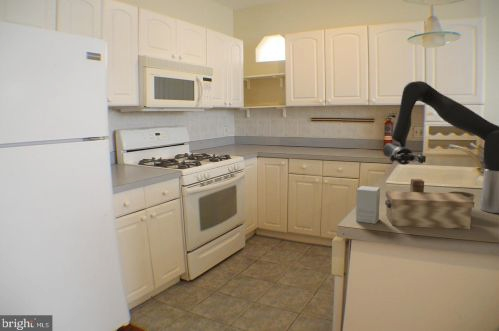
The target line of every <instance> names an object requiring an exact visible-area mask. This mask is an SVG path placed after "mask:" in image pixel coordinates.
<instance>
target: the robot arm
mask: <svg viewBox="0 0 499 331" xmlns="http://www.w3.org/2000/svg"><path fill="white" fill-rule="evenodd" d="M400 99H401V100H400V106H399V111H398V116H397V120H396V122H395V126H394V127H393V128H394V129H393V131H392V134H391V138H392V140H393V141H395V142H398V143H399V144H396V143H392V142H388V143H386V144H385V145H384V146H383V148H382V152H383V155H384V156H386V157H388V158H389V159H388V160H389V161H390V162H396V163H398V164H400V165H408V164H411V163H414V164H415V163H419V164H423V163H427V162H426V158H427V157H426V156H425V155H423V154H414V153H413V151H411V149H409V148H407V147H406V145H407V139H408V135H409V134H410V131H411V127H412V112H413V109H414V107H415V105H416V103H417V102H421V103H424V104H426V105H428V106H429V107H431V108H432V109H433V110H434V111H435V112H436V113H437V115H438V116H439V117H440V118H441V119H442V120H443V121H445V122H446V123H448V124H449V125H451V126H453V127H455V128H456V129H458V130H461V131H464V132H466V133H468V134H469V133H470V134H472V135H475V136H477V137H478V138H480V139H481V140H483V141H484V143H483V144H484V145H483V156H482V157H483V158H482V159H483V164H484V167H483V178H482V179H483V180H482V188H481V197H480V198H481V200H480V211H484V212H487V213H492V214H499V126H498V125H496V124H494V123H492V122H490V121H488V120H487V119H486V118H484V117H482V116H481V115H480V114H478V113H476V112H475V111H473V110H472V109H470V108H468V107H467V106H465V105H463V104H462V103H459V102H457V101H456V100H454V99H452V98H450V97H448V96H446V95H444V94H443V93H441V92H440V91H437V90H436V89H435V88H434V87H432V86H431V85H430V84H428V83H427V82H425V81H422V80H418V81H410V82H408V83H407V84H405V86H404V87H403V90H402V94H401V98H400Z"/></svg>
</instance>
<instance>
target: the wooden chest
mask: <svg viewBox="0 0 499 331" xmlns="http://www.w3.org/2000/svg"><path fill="white" fill-rule="evenodd" d="M385 198H386V199H385V203H384V205H385V207H386V212H385V216H387V217H386V218H387V219H388V222H389V224H390V225H391V224H392V225H391V226H393V225H396V226H397V227H413V228H414V227H417V228H418V227H419V228H433V229H434V228H435V229H438V228H439V229H453V228H459V230H471V220H472V219H471V218H472V212H473V211H472V210H473V208H475V201H474V200H473V201H472V200H470V199H468V198H467V197H465V196H463V195H462V194H458V193H448V192H425V191H424V192H410V191H397V190H396V191H395V190H394V191H393V190H391V191H390V190H385ZM396 226H395V227H396Z"/></svg>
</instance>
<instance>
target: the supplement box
mask: <svg viewBox="0 0 499 331" xmlns="http://www.w3.org/2000/svg"><path fill="white" fill-rule="evenodd" d="M380 195H381V187H379V186H367V185H361V186H359V187H358V188H357V189H356V204H355V205H356V207H355V211H356V212H355V214H356V215H355V221H356V222H357V223H365V224H374V225H375V224H377V222H378V221H379V220H378V219H380V204H381V203H380V198H381V196H380Z"/></svg>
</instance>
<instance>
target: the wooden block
mask: <svg viewBox="0 0 499 331" xmlns="http://www.w3.org/2000/svg"><path fill="white" fill-rule="evenodd" d="M409 184H410V189H409V190H410V191H409V192H425V191H424V190H425V181H424V180H423V179H422V178H417V179H415V178H411V179H410V183H409Z"/></svg>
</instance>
